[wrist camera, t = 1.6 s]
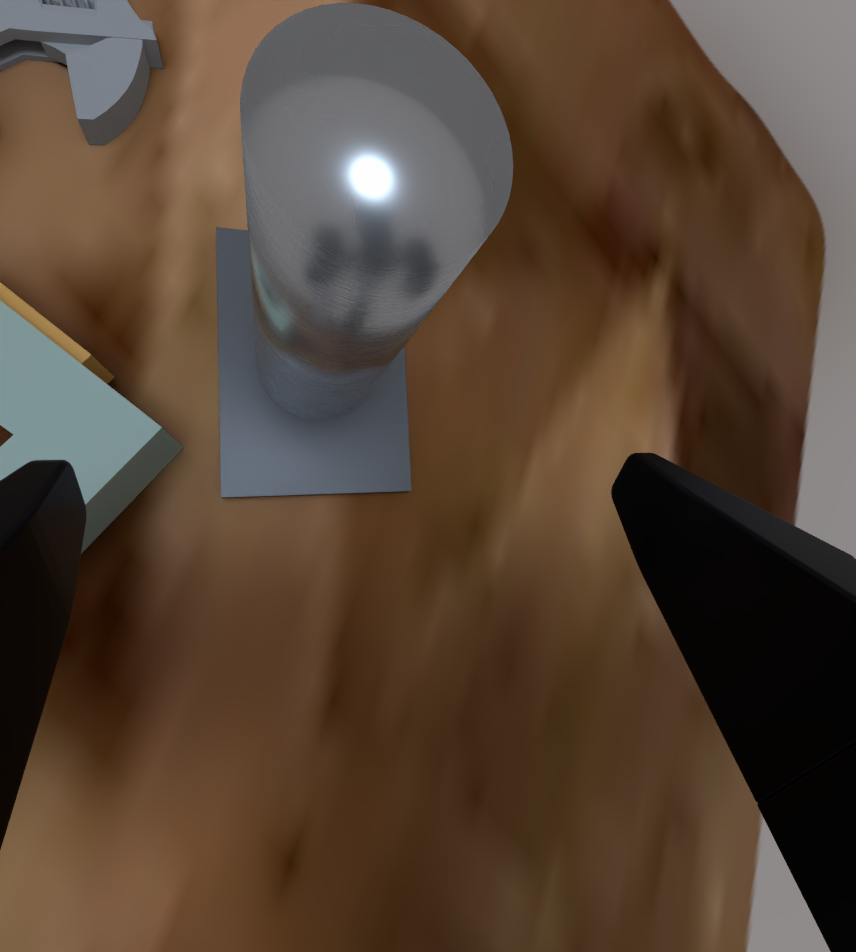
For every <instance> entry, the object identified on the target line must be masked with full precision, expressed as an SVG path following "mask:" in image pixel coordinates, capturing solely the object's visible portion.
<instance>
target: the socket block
mask: <svg viewBox="0 0 856 952" xmlns="http://www.w3.org/2000/svg"><path fill="white" fill-rule="evenodd" d="M113 378H115V377H114V376H113V375H112V374H111V373H110V372H109V371H108V370H107V369H106V368H105V367H104V366H103V365H102V364H100V363H99V362H98V361H97V360H96V359H95V358H94V357H93V356H92V355H91V354H90V353H89V352H87V351H86V350H85V349H84V348H82V347H81V346H80V345H79V344H77V343H76V342H75V341H73V340H72V339H71V338H70V337H68V336H67V335H66V334H65V333H63V332H62V331H61V330H60V329H58V328H57V327H56V326H55V325H53V324H52V323H51V322H50V321H48V320H47V319H46V318H44V317H43V316H42V315H41V314H39V313H38V312H37V311H36V310H34V309H33V308H32V307H31V306H29V305H28V304H27V303H26V302H24V301H23V300H22V299H20V298H19V297H18V296H17V295H15V294H14V293H13V292H12V291H10V290H9V289H8V288H7V287H5V286H4V285H3V284H2V283H0V425H1V426H3V427H4V428H5V429H7V430H8V431H9V432H11V433H12V434H13V436H12V437H11V438H10V439H9V440H7V441H6V442H5V443H4V444H3V445H2V446H1V447H0V480H2V479H3V478H5V477H6V476H8V475H9V474H11V473H12V472H14V471H16V470H17V469H19V468H20V467H22V466H23V465H25V464H26V463H28V462H30V461H33V460H66V461H68V462H69V463H70V464H71V465H72V467H73V469H74V471H75V474H76V478H77V481H78V484H79V487H80V490H81V493H82V496H83V499H84V502H85V506H86V526H85V532H84V538H83V545H82V551H81V554H82V553H83V552H84V551H85V550H86V549H87V548H88V546H89V545H90V544H91V543H92V542H93V541H94V540H95V539H96V538H97V537H98V536H99V535H100V534H101V533H102V532H103V531H104V530H105V529H106V528H107V527H108V526H109V525H110V524H111V523H112V522H113V521H114V519H115V518H116V517H117V516H118V515H119V514H120V513H121V512H122V511H123V510H124V509H125V508H126V507H127V506H128V505H129V504H130V503H131V502H132V501H133V500H134V499H135V498H136V497H137V496H138V495H139V494H140V492H141V491H142V490H143V489H144V488H145V487H146V486H147V485H148V484H149V483H150V482H151V481H152V480H153V479H154V478H155V477H156V476H157V475H158V474H159V473H160V472H161V471H162V470H163V469H164V468H165V467H166V465H167V464H168V463H169V462H170V461H171V460H172V459H173V458H174V457H175V456H176V455H177V454H178V453H179V452H180V451H181V450H182V449H183V448H184V447H183V446H182V445H180V444H179V443H178V442H177V441H176V440H175V439H174V438H173V437H172V436H171V435H170V434H169V433H168V432H166V431H165V430H164V429H163V428H162V427H161V426H160V425H158V424H157V423H156V422H154V421H153V420H152V419H151V418H149V417H148V416H147V415H146V414H144V413H143V412H142V411H140V410H139V409H138V408H137V407H135V406H134V405H133V404H132V403H130V402H129V401H128V400H127V399H125V398H124V397H123V396H121V395H120V394H119V393H118V392H116V391H115V390H114V389H113V388H111V387H110V386H109V385H107V384H108V383H109V382H110V381H111V380H112V379H113Z"/></svg>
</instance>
